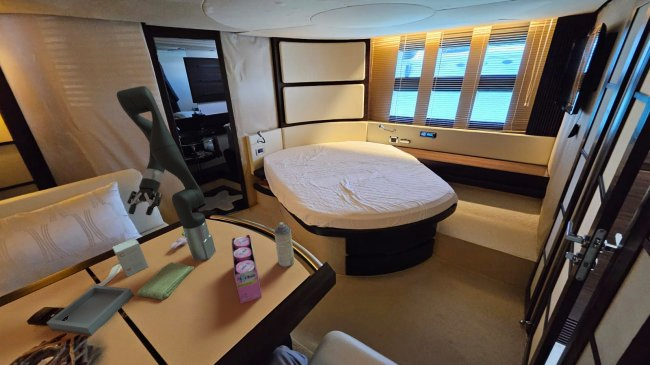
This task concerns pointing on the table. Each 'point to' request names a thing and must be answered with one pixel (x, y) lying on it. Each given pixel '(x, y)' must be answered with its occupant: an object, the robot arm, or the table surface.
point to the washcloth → (165, 281)
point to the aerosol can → (284, 245)
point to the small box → (130, 257)
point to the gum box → (245, 269)
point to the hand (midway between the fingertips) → (139, 214)
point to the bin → (91, 310)
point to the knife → (110, 275)
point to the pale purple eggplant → (179, 241)
